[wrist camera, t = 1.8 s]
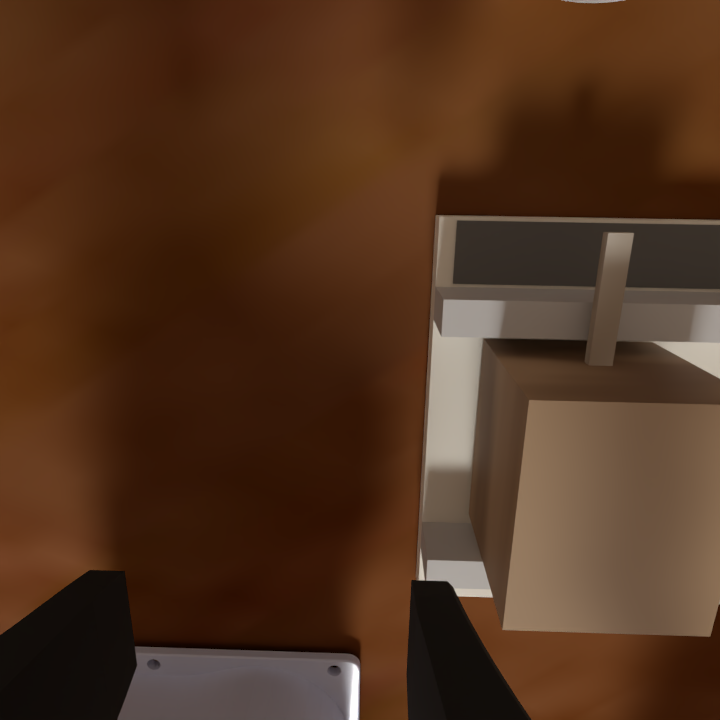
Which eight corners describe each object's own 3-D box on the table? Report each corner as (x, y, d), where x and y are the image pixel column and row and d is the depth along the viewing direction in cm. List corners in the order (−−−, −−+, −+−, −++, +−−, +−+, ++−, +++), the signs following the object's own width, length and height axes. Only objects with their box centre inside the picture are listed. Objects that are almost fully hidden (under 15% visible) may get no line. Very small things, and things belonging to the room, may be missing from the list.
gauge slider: (468, 513, 18) (502, 629, 13) (493, 224, 15) (547, 240, 10) (620, 517, 18) (710, 636, 13) (673, 228, 15) (811, 244, 10)
